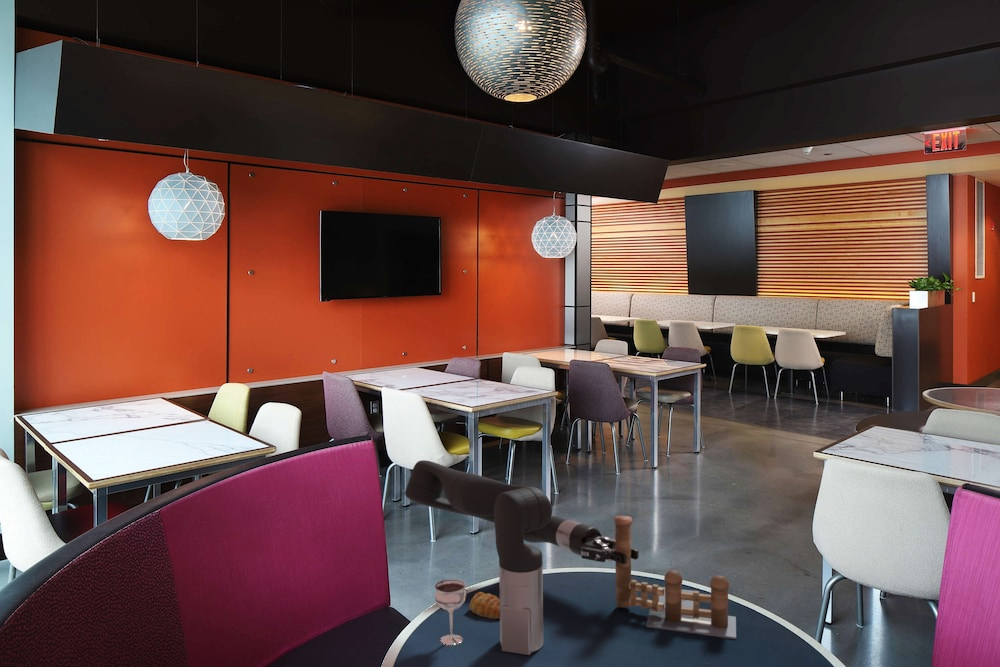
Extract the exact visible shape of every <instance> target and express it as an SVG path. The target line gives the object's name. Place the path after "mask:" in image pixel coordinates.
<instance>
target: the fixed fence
mask: <svg viewBox="0 0 1000 667" xmlns="http://www.w3.org/2000/svg"><path fill="white" fill-rule="evenodd" d="M663 580H664V587H665V619H666V620H668V621H670V622H680V621H681V617H682V615H687V616H693V618H697V619H699V617H703V618H711V625H712V626H714V627H716V628H727V627H728V616H729V588H730V584H729V580H728V579H727V577H725V576H723V575H719V574H718V575H717V574H716V575H714V576H712V578H710V582H709V585H710V589H711V590H710V594H709V593H708V594H706V593H700V591H698V590H692V591H693V593H692V592H683V591H682V586H683V585H682V584H683V577H682V574H681V573H680V572H679V571H678V570H674V569H671V570H668V571H667V572H666V573H665V574H664V579H663ZM682 600H689V601H693V608H691V607H683V606H682ZM700 603H705V604H707V603H708V604H710V609H707V608H706V609H705V608H700Z"/></svg>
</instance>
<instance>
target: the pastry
mask: <svg viewBox="0 0 1000 667" xmlns="http://www.w3.org/2000/svg"><path fill="white" fill-rule="evenodd" d="M469 609H470V610H471V612H472V614H476V615H477V616H479V615H480V616H479V617H484V618H487V617H488V619H492V618H493V620H496V619H499V620H500V598H499V597H497V595H493V594H491V593H489V592H488V593H484V592H483V591H478V592H477V593H475V594H474V596H472V598H471V600H470V602H469Z"/></svg>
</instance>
